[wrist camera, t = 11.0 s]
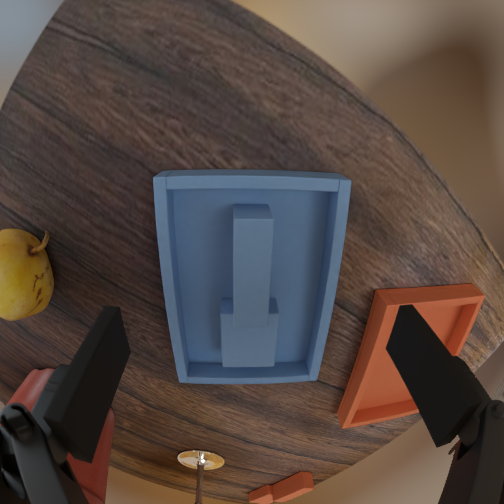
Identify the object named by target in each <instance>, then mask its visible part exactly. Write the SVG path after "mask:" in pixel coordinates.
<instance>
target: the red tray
mask: <svg viewBox="0 0 504 504" xmlns="http://www.w3.org/2000/svg"><path fill="white" fill-rule="evenodd" d="M484 297H485V295H484V294H483V293H482V292H481V291H480V290H479V289H478V288H476V287H475V286H474V285H473V284H472V283H470V284H457V285H444V286H430V287H414V288H397V289H378V290H375V294H374V298H373V302H372V306H371V310H370V314H369V317H368V321H367V324H366V328H365V331H364V335H363V338H362V342H361V345H360V348H359V351H358V355H357V358H356V361H355V364H354V367H353V370H352V373H351V376H350V379H349V382H348V384H347V387H346V390H345V393H344V396H343V398H342V401H341V404H340V406H339V409H338V411H337V415H338V418H339V422H340V425H341V428H342V429H344V428H350V427H356V426H361V425H367V424H372V423H377V422H381V421H386V420H390V419H395V418H399V417H403V416H407V415H411V414H414V413H418V412H419V410H418V408H417V406H416V404H415V402H414V400H413V398H412V397H411V395H410V393H409V391H408V389H407V387H406V385H405V383H404V381H403V379H402V378H401V376H400V374H399V372H398V370H397V368H396V367H395V365H394V363H393V361H392V359H391V357H390V356H389V354H388V352H387V350H386V346H387V343H388V340H389V337H390V334H391V331H392V328H393V325H394V322H395V319H396V316H397V312H398V309H399V306H400V305H409V304H412V305H413V306H414V307H415V308H416V310H417V311H418V312H419V313H420V314H421V316H422V317H423V318H424V319H425V321H426V322H427V323H428V325H429V326H430V327H431V328H432V330H433V331H434V332H435V334H436V335H437V336H438V337H439V339H440V340H441V341H442V343H443V344H444V345H445V347H446V348H447V349H448V351H449V352H450V353H451V355H452V356H459V354H460V352H461V350H462V348H463V346H464V344H465V342H466V339H467V337H468V335H469V333H470V331H471V329H472V326H473V324H474V322H475V319H476V317H477V315H478V312H479V310H480V307H481V305H482V302H483V300H484Z"/></svg>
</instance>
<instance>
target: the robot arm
mask: <svg viewBox="0 0 504 504" xmlns="http://www.w3.org/2000/svg"><path fill="white" fill-rule="evenodd" d="M386 350H387V352H388V354H389V356H390V357H391V359H392V361H393V363H394V365H395V367H396V368H397V370H398V372H399V374H400V376H401V378H402V379H403V381H404V383H405V385H406V387H407V389H408V391H409V393H410V395H411V397H412V398H413V400H414V402H415V404H416V406H417V408H418V410H419V412H420V414H421V416H422V418H423V420H424V422H425V424H426V426H427V428H428V430H429V432H430V435H431V437H432V439H433V441H434V443H435V445H436V447H440V446H442V445H445V444H448V443H450V442H451V441H452V440H453V439H454V438H455V437H456V435H457V434H458V436H459V438H460V440H459V441H458V442H457V443H456V444H455V445H454V447H453V448H452V449H451V450H450V451H449V453H448V454H451V453H452V452H453V451H454V450H455V453H454V455H453V460H452V464H451V467H450V470H449V473H448V477H447V480H446V483H445V486H444V489H443V492H442V494H441V497H440V500H439V502H438V504H504V402H502V401H500V400H492V399H491V398H490V397H489V395H488V394H487V392H486V391H485V389H484V388H483V386H482V385H481V384H480V382H479V381H478V379H477V378H475V375H474V374H473V372H472V371H470V368H469V367H468V365H467V364H466V363H465V362H464V361H463V360H462V359H460V358H459V357H458V356H452V355H451V353H450V352H449V351H448V349H447V348H446V347H445V345H444V344H443V343H442V341H441V340H440V339H439V337H438V336H437V335H436V334H435V332H434V331H433V330H432V328H431V327H430V326H429V325H428V323H427V322H426V321H425V319H424V318H423V317H422V316H421V314H420V313H419V312H418V311H417V310H416V308H415V307H414V306H413V305H412V304H409V305H400V306H399V309H398V312H397V316H396V319H395V322H394V325H393V328H392V331H391V334H390V337H389V340H388V343H387V346H386ZM130 353H131V351H130V347H129V344H128V340H127V336H126V332H125V329H124V325H123V321H122V316H121V312H120V308H119V307H112V306H104V308H103V309H102V311H101V313H100V314H99V316H98V317H97V319H96V321H95V322H94V324H93V326H92V327H91V329H90V331H89V332H88V334H87V336H86V337H85V339H84V341H83V342H82V344H81V346H80V348H79V349H78V351H77V353H76V355H75V356H74V358H73V360H72V362H71V363H70V365H64V364H61V365H60V366H59V367H57V368H56V369H55V370H54V371H53V372H52V374H51V375H50V377H49V379H48V382H47V383H46V384H45V386H44V388H43V390H42V391H41V393H40V395H39V397H38V399H37V401H36V403H35V404H34V406H33V408H32V410H31V412H29V410H28V409H27V407H26V406H25V405H23V404H22V403H18V402H15V403H10V404H8V405H6V406H5V407H4V408H3V409H2V410H1V412H0V424H1V425H2V426H0V504H89V502H88V500H87V498H86V496H85V494H84V492H83V491H82V489H81V487H80V485H79V483H78V481H77V479H76V477H75V474H74V472H73V470H72V468H71V466H70V464H69V462H68V460H67V459H66V458H67V455H68V452H69V453H70V454H71V455H72V456H73V458H74V459H77V460H80V461H84V462H87V463H91V464H92V462H93V458H94V455H95V452H96V449H97V445H98V442H99V439H100V436H101V433H102V430H103V427H104V424H105V421H106V418H107V415H108V412H109V409H110V407H111V404H112V401H113V398H114V395H115V393H116V390H117V387H118V384H119V382H120V379H121V376H122V374H123V371H124V368H125V366H126V363H127V361H128V358H129V356H130Z"/></svg>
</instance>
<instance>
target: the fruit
mask: <svg viewBox="0 0 504 504" xmlns="http://www.w3.org/2000/svg"><path fill="white" fill-rule="evenodd" d="M49 238H50V234H49V232H45V237H44V239H43V241H42V243H41V242H40V241H39V239H37V238H36V237H35V236H33V235H32V234H30V233H28V232H26V231H23V230H21V229H4V230H1V231H0V317H1V318H4V319H6V320H9V321H12V320H18V319H21V318H25V317H29V316H32V315H34V314H36V313H39V312H41V311H43V310H44V309H45V308H46V307H47V305H48V303H49V301H50V299H51V296H52V293H53V288H54V278H53V273H52V268H51V265H50V262H49V259H48V255H47V253H46V251H45V249H44V248H45V247H46V245H47V243H48V241H49Z"/></svg>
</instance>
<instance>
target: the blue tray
mask: <svg viewBox="0 0 504 504" xmlns="http://www.w3.org/2000/svg"><path fill="white" fill-rule="evenodd" d="M351 182H352V181H351V180H350V179H348V178H346V177H344V176H343V175H341V174H339V173H325V172H309V171H287V170H252V169H200V170H166V171H161V172H160V173H159V174H157V175H156V176H154V177H153V186H154V202H155V215H156V227H157V238H158V248H159V258H160V267H161V275H162V283H163V291H164V298H165V305H166V312H167V318H168V325H169V331H170V337H171V343H172V348H173V354H174V359H175V364H176V369H177V375H178V379H179V382H180V383H197V384H267V383H289V382H304V381H316V380H317V377H318V373H319V369H320V365H321V361H322V357H323V352H324V348H325V343H326V339H327V334H328V330H329V325H330V320H331V315H332V310H333V305H334V299H335V294H336V289H337V283H338V277H339V271H340V265H341V259H342V252H343V246H344V239H345V232H346V224H347V217H348V209H349V200H350V191H351ZM234 204H268V205H269V208H270V211H271V213H272V216H273V218H274V233H273V251H272V268H271V284H270V298H276V301H277V305H278V310H279V323H278V333H277V343H276V353H275V363H274V366H271V367H223V366H222V346H221V323H220V309H221V299H222V298H233V213H234Z"/></svg>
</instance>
